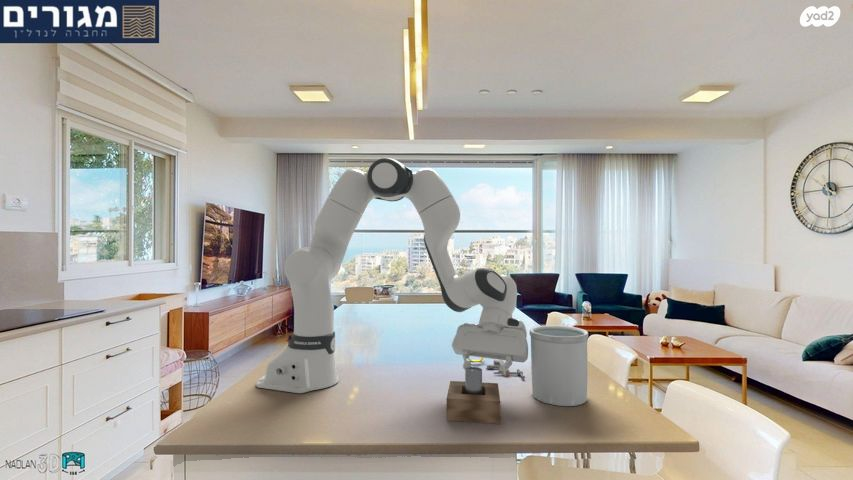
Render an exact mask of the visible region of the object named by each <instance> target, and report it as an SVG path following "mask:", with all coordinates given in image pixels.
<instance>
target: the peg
mask: <svg viewBox="0 0 853 480" xmlns="http://www.w3.org/2000/svg"><path fill="white" fill-rule="evenodd" d="M464 371H465V373H464V376H465V378H464V379H465V380H464V382H465V394H472V395H482V383H483V369H482V368H480V367H476V366H471V367H468V368H466V369H465V370H464Z"/></svg>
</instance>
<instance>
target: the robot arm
mask: <svg viewBox="0 0 853 480" xmlns="http://www.w3.org/2000/svg"><path fill="white" fill-rule="evenodd" d="M404 198H405V199H408V200H409V201H410V202H411V203H412V205H413V206H414V208H415V210H416V212H417V214H418V215H419V217H420V219H421V223H422V225H423V226H422V227H423V231H424V236H423V243H424V247H425V249H426V250H425V251H426V252H427V255H428V258H429V260H430V263H431V266H432V267H433V271H434V273H435V275H436V278H437V281H438V283H439V287H440V291H441V297H442V300H443V302H444V303H445V305H446V306H447V307H448V308H449V309H450V310H452V311H454V312H456V313H462V312H465V311H467V310H469V309H471V308H473V307H476V306H478V305H480V306H481V307H482V310H481V314H480V317H479V321H478V324H476V323H467V322H466V323H463V324H460V325H459V326H458V327H457V330H456V333H455V336H454V337H453V339H452V343H451V347H452V350H453V352H454V353H455V354H456V355H461V356H462V358H463V365H462V368H463V370H464V371H465V369H466V368H468V367H472V362H471V361H470V360H469V358H470V357H475V358H476V357H477V358H481V357H483V359H486V358H487V359H492V360H503V361H505V362H504V365H503V366H501V365H500V366H499V369H498V371H497V372H499V374H498V375H502V376H504V375H505V374H506V370H507V369H509V368H510V367H511V366H512V365H513V362H515V363H525V362H526V361H527V360H528V358H529V342H528V339H527V337H528V335H527V334H528V333H527V332H528V331H527V328H526V325H525V323H524V322H523V321H522V320H520V319H517V318H514V317H513V313H514V312H515V308H516V304H517V299H518V298H517V297H518V295H517V294H518V289H517V288H518V287H517V283H516V282H515V280H514V279H513V278H512V277H510V276H509V275H507V274H498V273H497V272H496V271H495V270H493V269H492V268H491V267H488V266H485V265H484V266H483V265H482V266H479V267H476V268H474V269H471V270H469V271H468V272H466V273H463V274H461V275H458V274H457V273H456V269H455V267H454V264H453V262H452V260H451V257H450V255H449V251H448V245H449V241H450V239H451V237H452V236H453V235H454V233H455V231H456V229H457V228H458V226H459V223H460V220H461V210H460V208H459V205H458V203H457V201H456V198H454V196H453V194H452V192H451V191H450V189H449V187H448V186H447V184H446V183H445V181H444V180H443V179H442V177H441V176H440V175H439V173H438V172H437V171H435V170H434V169H433V168H429V167H426V168H425V167H424V168H421V169H418V170H416V171H412V169H411V168H410V167H408V166H406V165H405V164H403V163H402V162H400V161H398V160H396V159H394V158H390V157H383V158H379V159H376V160H375V161H374V162H373V163H371V165H370V166H369V168H368V170H367V172H364V171H362V170H359V169H356V168H350V169H346V171H344V172H343V173H342V175H341V176H340V177H339V179H338V180H337V181H336V183H335V184H334V185H333V188H332V189H331V190H330V192H329V194H328V196H327V197H326V200H325V201H324V204H323V206H322V208H321V209H320V212H319V213H318V215H317V218H316V219H315V222H314V230H313V234H312V238H311V241H310V243H309V246H302V247H300V248H297V249H296V250H294V251H293V252H291V253H290V254H289V255H288V256H287V257H286V259H285V261H284V264H283V271H284V275H285V277H286V278H287V280H288V282H289V287H290V291H291V296H292V302H293V313H294V314H293V332H292V333H291V334H290V335H288V336H287V337H285V338H284V339H285V342H286V343H287V346H286V347H285V348H284V349H282V350H280V352H278V354H276V355H275V356H273V357H272V358H271V359H270V360H269V361H268V364H267V365H266V369H265V374H264V375H263V376H261V377H260V378H259V379H258V380H257V381H256V388H261V389H267V390H271V391H272V390H273V391H281V392H287V393H294V394H304V393H307V392H311V391H315V390H322V389H325V388H329V387H332V386H334V385H336V384H338V382H339V381H340V378H339V375H338V372H337V367H336V359H335V350H336V332H335V330H334V328H335V327H334V325H335V323H334V322H335V318H334V317H335V312H334V311H335V305H334V302H333V299H332V295H331V290H330V289H331V288H330V281H332V280H334V278H335V277H336V276H337V275H338V274H339V273H340V270H341V266H342V263H343V261H344V258H345V257H346V252H347V251H348V247H349V243H350V241H351V239H352V236H353V235H354V232H355V231H356V228H357V227H358V224H359V223H360V220H361V219H362V217H363V215H364V213H365V211H366V208H367V206H368V205H369V204H370V202H371V201H372V200H373V199H374V200H376V199H377V200H381V201H386V202H398V201H401V200H402V199H404Z"/></svg>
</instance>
